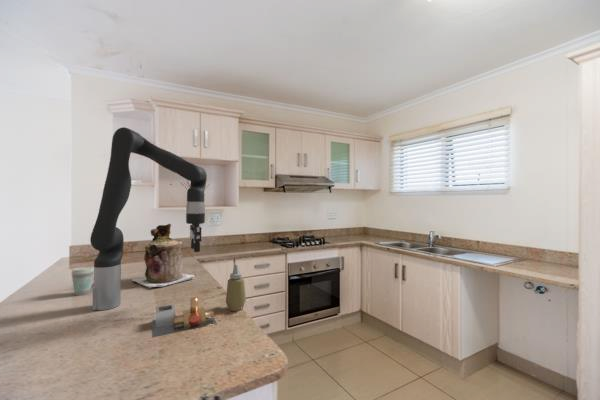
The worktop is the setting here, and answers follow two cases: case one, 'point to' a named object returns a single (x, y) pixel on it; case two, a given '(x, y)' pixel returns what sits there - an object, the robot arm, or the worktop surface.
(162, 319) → the steel fitting
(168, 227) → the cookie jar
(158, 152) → the robot arm
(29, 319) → the worktop surface
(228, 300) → the squeeze bottle
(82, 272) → the coffee cup
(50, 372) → the worktop surface
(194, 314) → the valve station
